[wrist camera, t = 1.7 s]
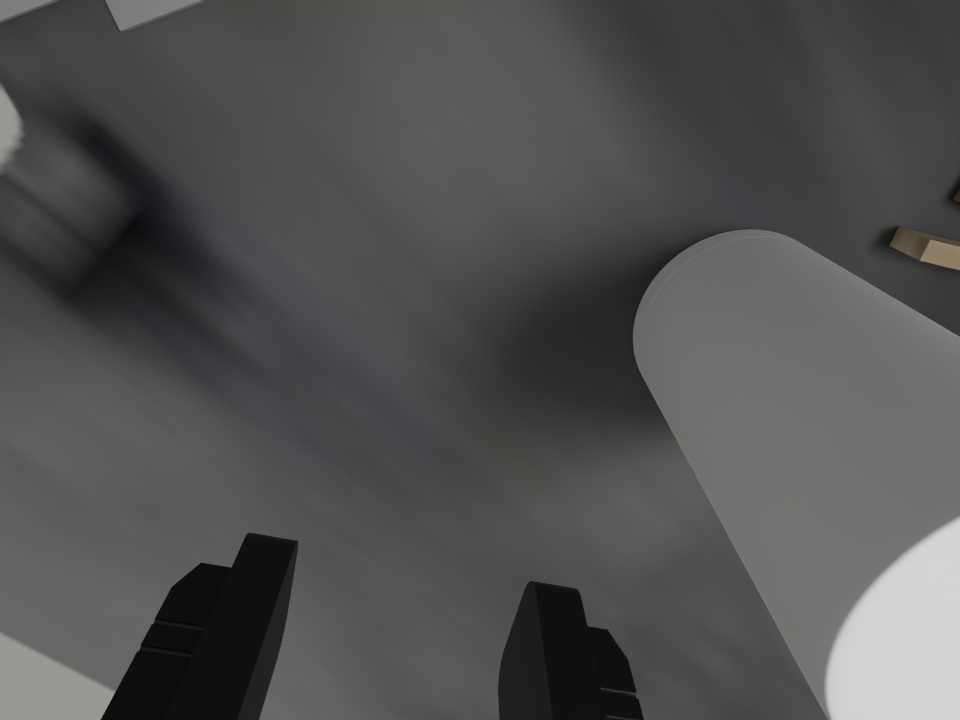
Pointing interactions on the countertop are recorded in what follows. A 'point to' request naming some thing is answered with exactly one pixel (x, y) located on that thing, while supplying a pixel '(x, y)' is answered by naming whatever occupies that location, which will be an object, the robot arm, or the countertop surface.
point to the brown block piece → (957, 196)
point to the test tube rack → (128, 3)
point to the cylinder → (821, 459)
